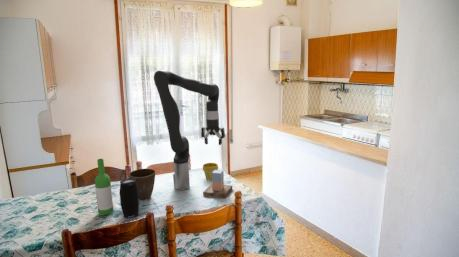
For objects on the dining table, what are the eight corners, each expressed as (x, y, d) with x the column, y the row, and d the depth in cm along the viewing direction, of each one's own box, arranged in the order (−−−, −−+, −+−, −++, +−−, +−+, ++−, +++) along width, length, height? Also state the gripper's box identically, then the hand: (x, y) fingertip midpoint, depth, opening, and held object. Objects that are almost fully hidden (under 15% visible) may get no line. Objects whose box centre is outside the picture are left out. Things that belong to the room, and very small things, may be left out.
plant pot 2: (211, 182, 214) (211, 168, 212) (200, 179, 220) (199, 165, 218) (221, 177, 222) (220, 164, 220) (210, 174, 228) (209, 161, 226)
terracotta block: (212, 189, 194) (212, 181, 193) (215, 186, 199) (215, 178, 198) (221, 190, 193) (220, 182, 192) (223, 187, 198) (223, 178, 197)
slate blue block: (212, 181, 193) (211, 172, 192) (215, 178, 198) (214, 169, 197) (220, 182, 192) (220, 173, 190) (223, 179, 197) (223, 170, 196)
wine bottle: (108, 208, 178) (103, 156, 172) (116, 212, 173) (111, 158, 167) (95, 213, 172) (89, 159, 166) (103, 217, 167) (97, 162, 161)
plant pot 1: (150, 204, 182) (148, 177, 179) (126, 202, 185) (124, 176, 182) (161, 194, 196) (159, 169, 193) (138, 192, 199) (136, 168, 196)
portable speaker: (118, 217, 167) (115, 181, 164) (131, 210, 175) (128, 176, 171) (130, 220, 163) (126, 184, 159) (143, 213, 171) (140, 178, 167)
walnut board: (203, 195, 192) (203, 191, 191) (211, 187, 205) (211, 183, 205) (225, 198, 188) (225, 194, 187) (232, 189, 201) (232, 185, 200)
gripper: (225, 117, 191) (226, 143, 195) (203, 116, 196) (204, 142, 199) (221, 119, 184) (222, 146, 188) (198, 118, 189) (199, 145, 192)
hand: (213, 144), depth 193 cm, fingers open, 8 cm apart
